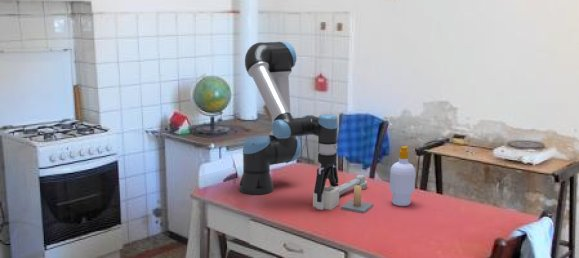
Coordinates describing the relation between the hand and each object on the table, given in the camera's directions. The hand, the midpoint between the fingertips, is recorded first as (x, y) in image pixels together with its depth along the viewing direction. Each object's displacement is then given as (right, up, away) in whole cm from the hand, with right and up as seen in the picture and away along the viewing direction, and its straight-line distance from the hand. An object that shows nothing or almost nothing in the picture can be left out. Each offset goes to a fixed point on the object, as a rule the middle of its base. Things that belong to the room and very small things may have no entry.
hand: (326, 205), depth 244 cm
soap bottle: (+31, 0, +3) cm, 32 cm away
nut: (0, 0, 0) cm, 0 cm away
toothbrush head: (+11, +3, +18) cm, 21 cm away
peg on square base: (+12, -1, -2) cm, 13 cm away
